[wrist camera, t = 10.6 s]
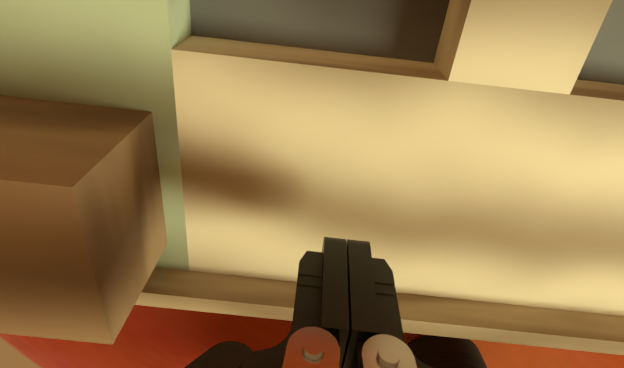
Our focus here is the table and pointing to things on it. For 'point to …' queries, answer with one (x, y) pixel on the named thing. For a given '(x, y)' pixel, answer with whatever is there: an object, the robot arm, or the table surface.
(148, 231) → the walnut block
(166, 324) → the table surface
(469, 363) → the drinking cup
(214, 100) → the board
